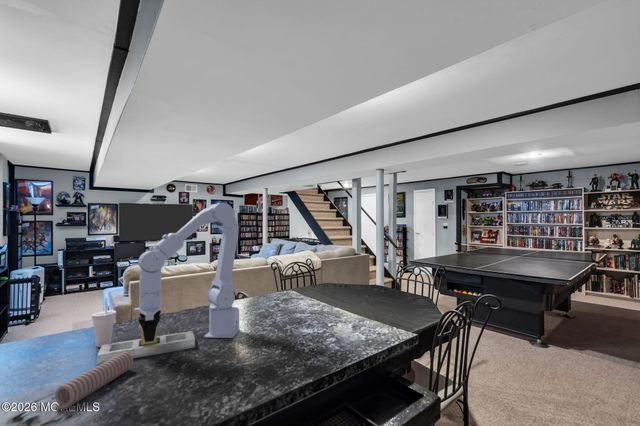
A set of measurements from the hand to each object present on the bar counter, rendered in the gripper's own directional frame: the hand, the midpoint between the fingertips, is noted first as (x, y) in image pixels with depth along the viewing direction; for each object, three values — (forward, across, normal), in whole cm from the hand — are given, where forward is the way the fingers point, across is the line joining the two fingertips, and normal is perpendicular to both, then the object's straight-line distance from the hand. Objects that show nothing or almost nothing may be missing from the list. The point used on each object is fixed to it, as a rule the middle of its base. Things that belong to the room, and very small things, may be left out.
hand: (149, 338), depth 90 cm
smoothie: (+4, -12, -13) cm, 18 cm away
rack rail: (+3, 0, 0) cm, 3 cm away
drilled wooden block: (+2, 0, 0) cm, 2 cm away
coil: (+4, +17, -10) cm, 20 cm away
